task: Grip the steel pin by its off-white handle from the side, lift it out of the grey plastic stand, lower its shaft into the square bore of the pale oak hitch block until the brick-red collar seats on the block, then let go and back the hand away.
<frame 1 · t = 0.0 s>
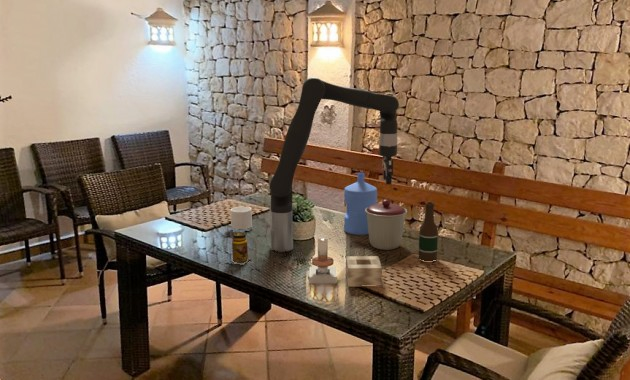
hand: (387, 181, 225), 29 cm above the table, tool pointing down, fingers open, 8 cm apart
pin: (322, 259, 198), in the pin stand
pin stand: (322, 278, 200), on the table
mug: (243, 229, 261), on the table
beer bottle: (427, 260, 217), on the table
canister: (385, 246, 234), on the table
condiment: (238, 262, 217), on the table
water jug: (360, 230, 256), on the table
hitch block: (363, 279, 198), on the table
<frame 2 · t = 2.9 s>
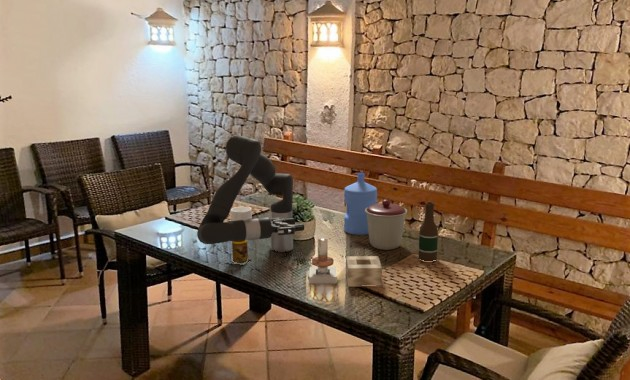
hand: (299, 224, 192), 22 cm above the table, tool horizontal, fingers open, 8 cm apart
nothing on the table moved.
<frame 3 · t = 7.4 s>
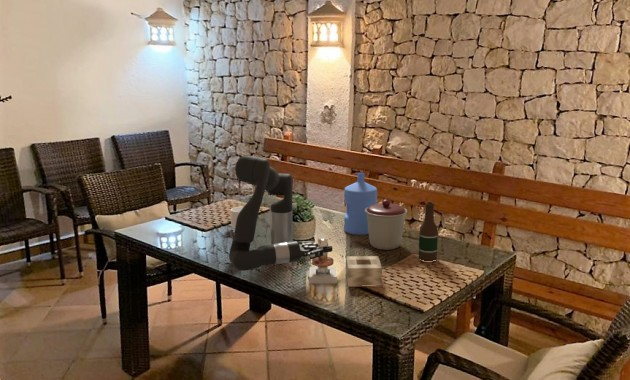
hand: (329, 246, 198), 12 cm above the table, tool horizontal, fingers closed on pin, 3 cm apart
pin: (322, 258, 198), in the pin stand, touching gripper
everything else where it was.
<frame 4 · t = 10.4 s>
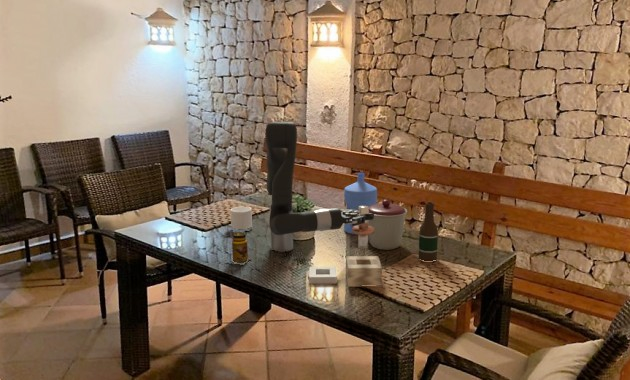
hand: (370, 214, 193), 25 cm above the table, tool horizontal, fingers closed on pin, 3 cm apart
pin: (363, 227, 193), point 20 cm above the table, touching gripper
everything else where it was.
when the fingers open (13 cm above the table, at t = 13.5 s): pin stays where it is, resting on hitch block.
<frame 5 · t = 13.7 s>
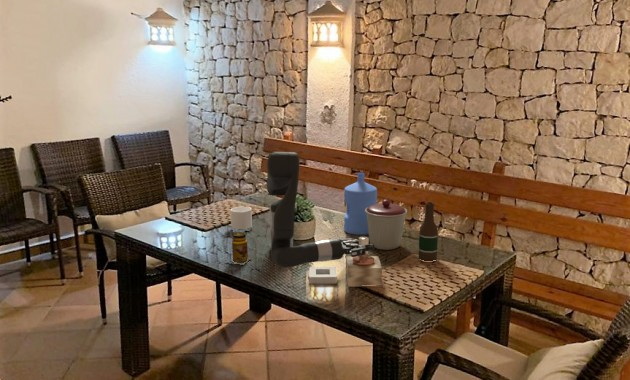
hand: (370, 244, 196), 13 cm above the table, tool horizontal, fingers open, 5 cm apart
pin: (363, 257, 196), in the hitch block, point 9 cm above the table
everything else where it was.
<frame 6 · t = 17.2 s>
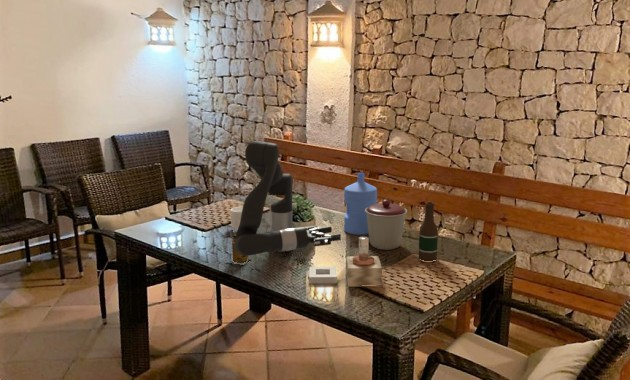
hand: (335, 232, 190), 19 cm above the table, tool horizontal, fingers open, 8 cm apart
nothing on the table moved.
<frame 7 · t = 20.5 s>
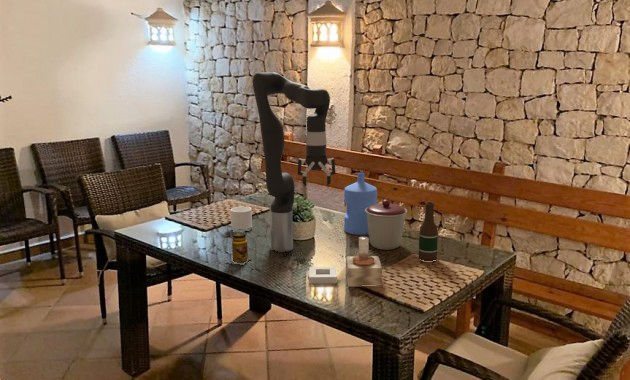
hand: (316, 185, 203), 33 cm above the table, tool pointing down, fingers open, 8 cm apart
nothing on the table moved.
at the end: pin 0.1 cm off-centre on the hitch block, point 8.6 cm above the hitch block's base; pin tilted 0°; the gripper is holding nothing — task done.
